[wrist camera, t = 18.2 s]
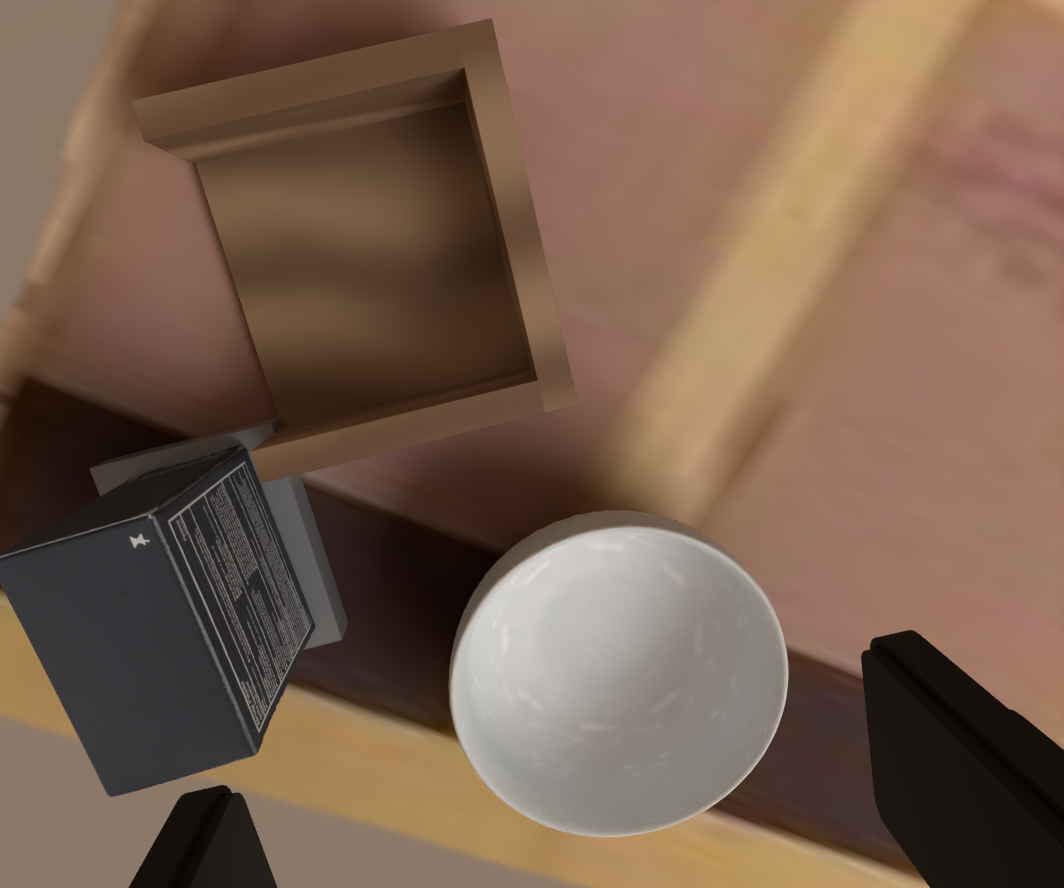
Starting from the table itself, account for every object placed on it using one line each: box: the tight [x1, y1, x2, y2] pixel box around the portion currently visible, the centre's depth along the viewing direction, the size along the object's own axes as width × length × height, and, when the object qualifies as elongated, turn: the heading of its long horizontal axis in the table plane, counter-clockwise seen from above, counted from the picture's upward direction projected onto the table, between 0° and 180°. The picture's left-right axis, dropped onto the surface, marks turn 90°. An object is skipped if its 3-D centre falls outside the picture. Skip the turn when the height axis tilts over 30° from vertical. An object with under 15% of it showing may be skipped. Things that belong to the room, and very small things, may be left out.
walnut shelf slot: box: [131, 18, 578, 484], centre depth 33 cm, size 16×14×6 cm
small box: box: [0, 445, 316, 797], centre depth 31 cm, size 11×6×10 cm, turn 16°
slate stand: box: [89, 418, 348, 649], centre depth 37 cm, size 12×9×2 cm
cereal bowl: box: [448, 510, 788, 837], centre depth 37 cm, size 17×17×7 cm
